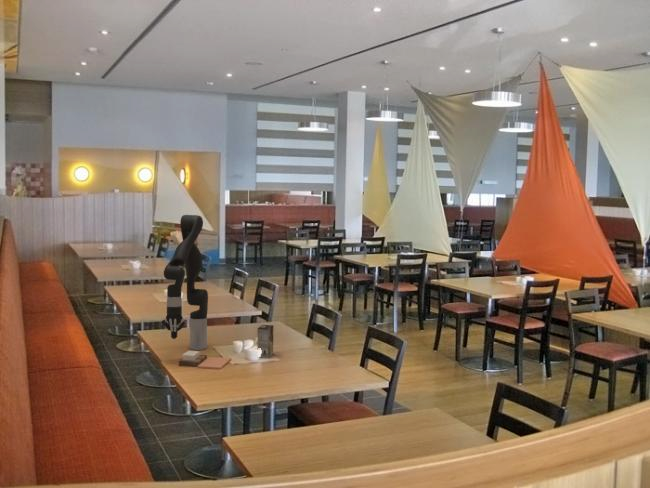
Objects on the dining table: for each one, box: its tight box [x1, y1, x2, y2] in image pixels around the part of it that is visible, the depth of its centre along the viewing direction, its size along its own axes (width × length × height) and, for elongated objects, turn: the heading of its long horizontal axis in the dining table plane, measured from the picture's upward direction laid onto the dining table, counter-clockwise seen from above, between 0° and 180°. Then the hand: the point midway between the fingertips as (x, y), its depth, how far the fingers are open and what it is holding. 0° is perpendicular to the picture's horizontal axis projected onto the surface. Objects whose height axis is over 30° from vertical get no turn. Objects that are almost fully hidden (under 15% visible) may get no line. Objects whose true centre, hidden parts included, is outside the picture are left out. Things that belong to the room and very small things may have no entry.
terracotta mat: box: [197, 356, 232, 370], centre depth 350 cm, size 18×12×1 cm, turn 172°
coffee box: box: [257, 324, 274, 359], centre depth 366 cm, size 9×6×16 cm
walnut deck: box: [178, 354, 208, 368], centre depth 351 cm, size 14×10×2 cm
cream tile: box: [181, 350, 201, 360], centre depth 351 cm, size 9×6×2 cm, turn 172°
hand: (174, 338), depth 351 cm, fingers closed
